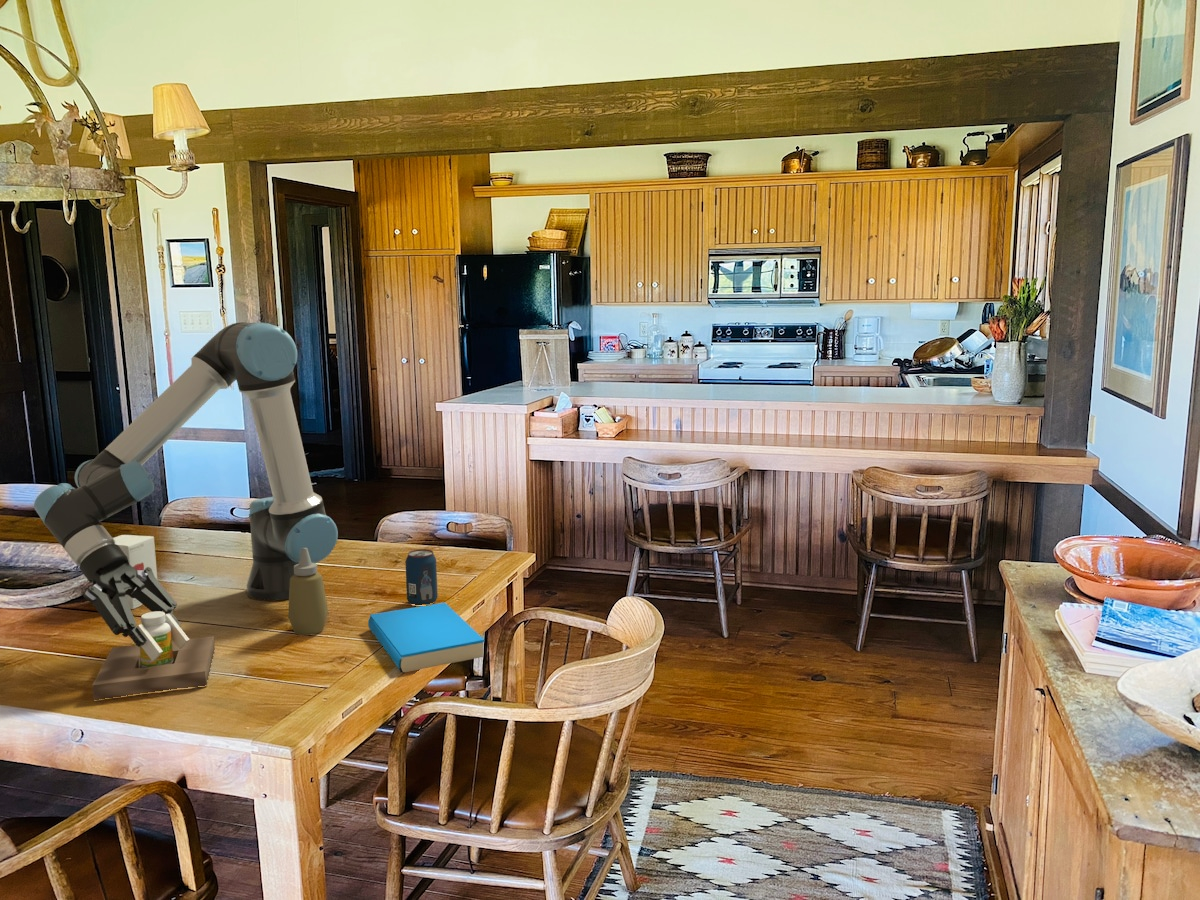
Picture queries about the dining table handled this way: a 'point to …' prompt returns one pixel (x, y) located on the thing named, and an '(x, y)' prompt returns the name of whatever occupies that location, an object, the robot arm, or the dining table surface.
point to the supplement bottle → (157, 638)
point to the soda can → (421, 577)
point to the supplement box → (137, 557)
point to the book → (425, 636)
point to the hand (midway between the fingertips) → (171, 650)
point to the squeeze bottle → (307, 597)
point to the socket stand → (154, 670)
